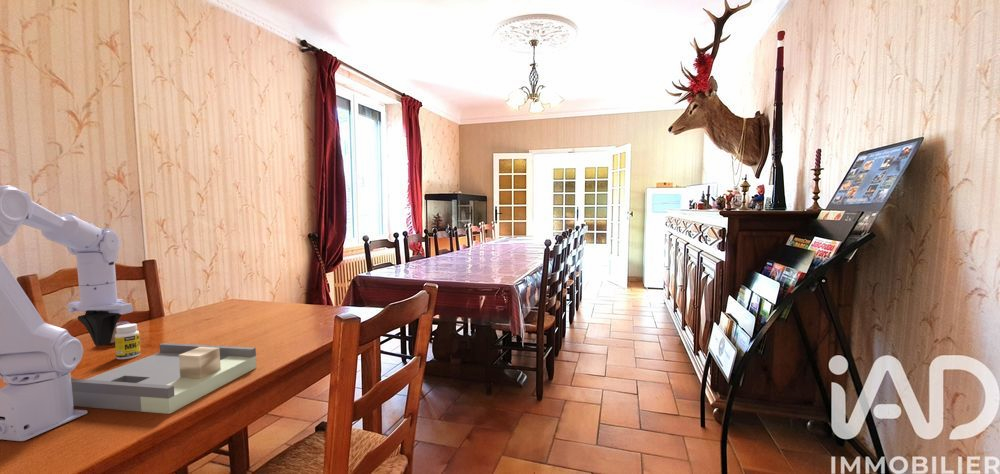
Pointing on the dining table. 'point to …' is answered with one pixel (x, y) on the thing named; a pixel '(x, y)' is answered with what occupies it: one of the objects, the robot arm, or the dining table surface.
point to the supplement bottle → (127, 341)
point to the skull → (116, 331)
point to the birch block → (199, 362)
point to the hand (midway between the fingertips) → (103, 344)
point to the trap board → (159, 381)
